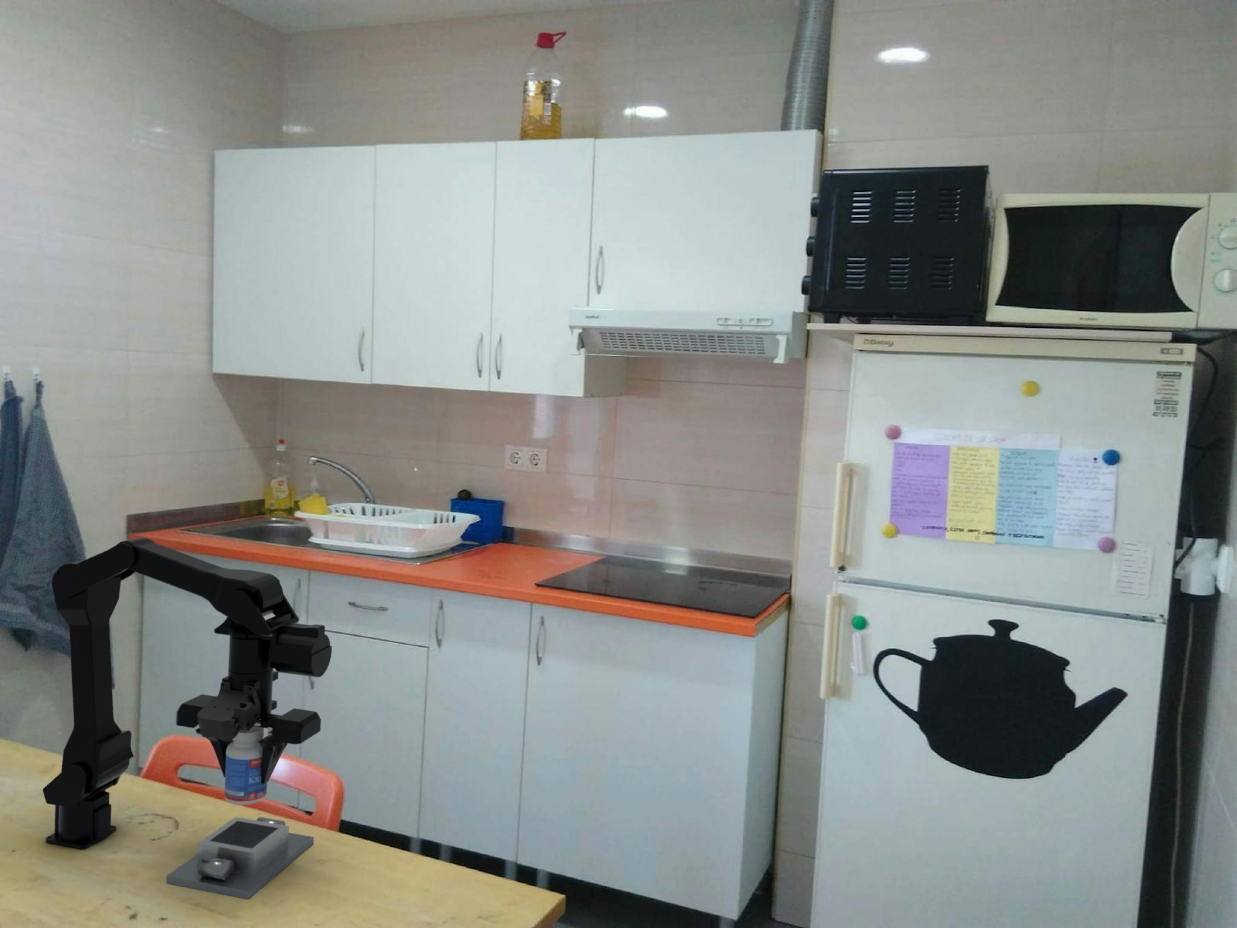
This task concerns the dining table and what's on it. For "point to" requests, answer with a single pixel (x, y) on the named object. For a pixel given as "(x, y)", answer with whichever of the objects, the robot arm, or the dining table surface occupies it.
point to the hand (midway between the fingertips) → (246, 779)
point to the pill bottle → (245, 768)
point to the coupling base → (241, 857)
